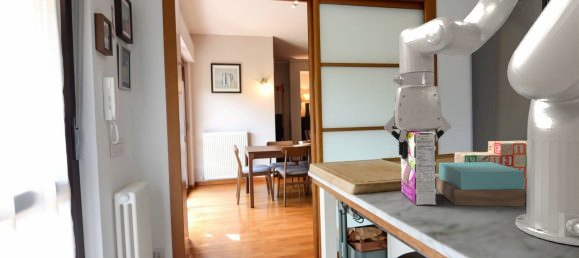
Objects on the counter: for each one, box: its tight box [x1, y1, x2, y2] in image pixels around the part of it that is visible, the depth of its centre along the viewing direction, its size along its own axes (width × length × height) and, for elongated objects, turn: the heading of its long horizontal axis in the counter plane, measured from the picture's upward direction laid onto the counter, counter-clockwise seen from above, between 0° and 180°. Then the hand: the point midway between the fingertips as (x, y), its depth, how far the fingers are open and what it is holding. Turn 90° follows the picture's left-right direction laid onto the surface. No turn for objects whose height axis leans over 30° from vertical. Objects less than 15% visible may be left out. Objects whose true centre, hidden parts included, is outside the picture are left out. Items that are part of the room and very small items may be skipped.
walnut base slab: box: [436, 176, 526, 207], centre depth 75 cm, size 14×14×4 cm
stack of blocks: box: [453, 140, 527, 190], centre depth 84 cm, size 21×6×12 cm, turn 84°
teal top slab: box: [438, 162, 525, 190], centre depth 75 cm, size 13×13×4 cm
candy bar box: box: [400, 130, 437, 206], centre depth 74 cm, size 11×5×16 cm, turn 176°
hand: (416, 157), depth 74 cm, fingers closed on candy bar box, 5 cm apart
